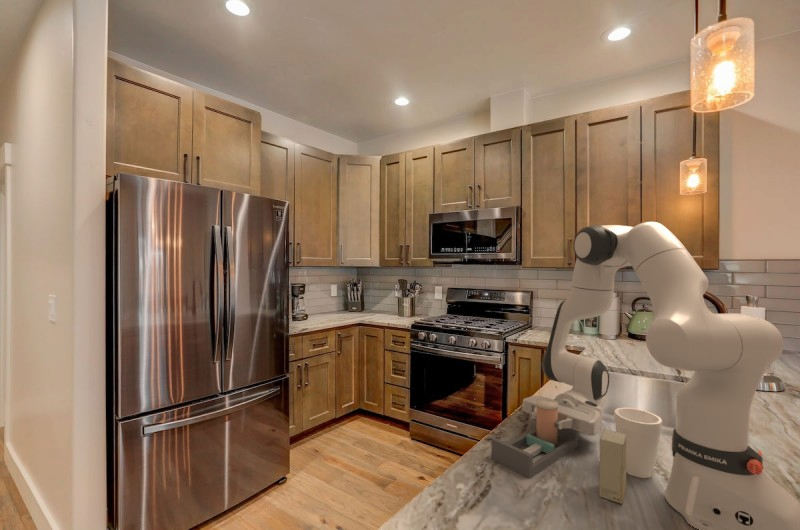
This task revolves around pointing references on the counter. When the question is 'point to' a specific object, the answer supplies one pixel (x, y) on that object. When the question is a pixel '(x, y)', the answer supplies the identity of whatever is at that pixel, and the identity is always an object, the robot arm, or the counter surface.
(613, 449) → the skincare box
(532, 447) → the pusher plate
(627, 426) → the foam cup
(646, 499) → the counter surface
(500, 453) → the pusher lane
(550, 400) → the terracotta jar
